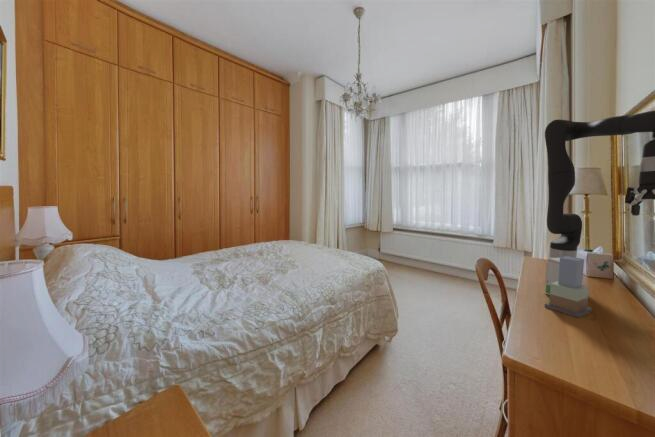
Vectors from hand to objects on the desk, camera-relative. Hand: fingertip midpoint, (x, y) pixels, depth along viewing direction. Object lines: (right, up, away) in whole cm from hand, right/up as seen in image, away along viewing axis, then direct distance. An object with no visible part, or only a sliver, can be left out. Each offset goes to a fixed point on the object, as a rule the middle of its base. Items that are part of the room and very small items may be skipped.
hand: (651, 216), depth 95 cm
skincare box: (-19, -33, +15) cm, 41 cm away
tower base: (-26, -34, +4) cm, 43 cm away
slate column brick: (-26, -25, +3) cm, 36 cm away
